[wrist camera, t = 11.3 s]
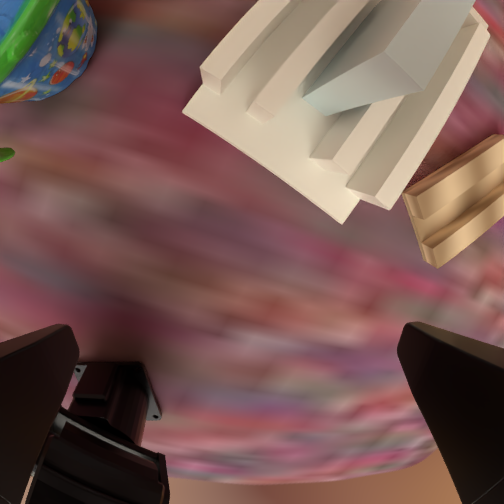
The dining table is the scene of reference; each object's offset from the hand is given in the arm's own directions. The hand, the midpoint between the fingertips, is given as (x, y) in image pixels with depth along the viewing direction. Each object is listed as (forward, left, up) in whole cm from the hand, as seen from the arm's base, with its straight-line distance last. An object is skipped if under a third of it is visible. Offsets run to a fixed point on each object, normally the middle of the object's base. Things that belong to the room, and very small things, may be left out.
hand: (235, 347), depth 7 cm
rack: (+11, -9, -13) cm, 19 cm away
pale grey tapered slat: (+11, -9, -7) cm, 16 cm away
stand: (+1, -19, -13) cm, 23 cm away
